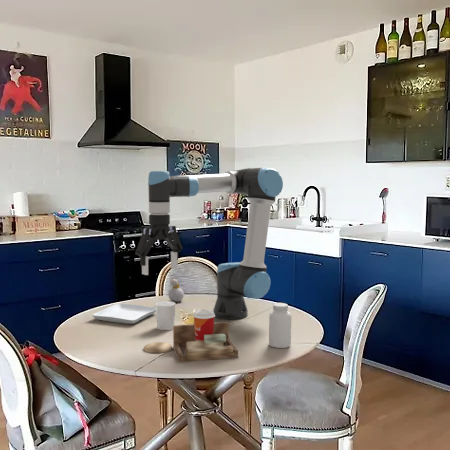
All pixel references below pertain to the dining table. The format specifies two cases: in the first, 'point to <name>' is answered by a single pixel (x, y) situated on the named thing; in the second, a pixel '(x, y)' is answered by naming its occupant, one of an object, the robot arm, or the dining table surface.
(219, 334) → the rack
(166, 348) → the mat
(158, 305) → the white cup
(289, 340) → the pill bottle
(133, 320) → the salad plate
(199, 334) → the paper cup
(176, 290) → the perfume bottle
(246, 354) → the dining table surface
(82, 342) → the dining table surface
